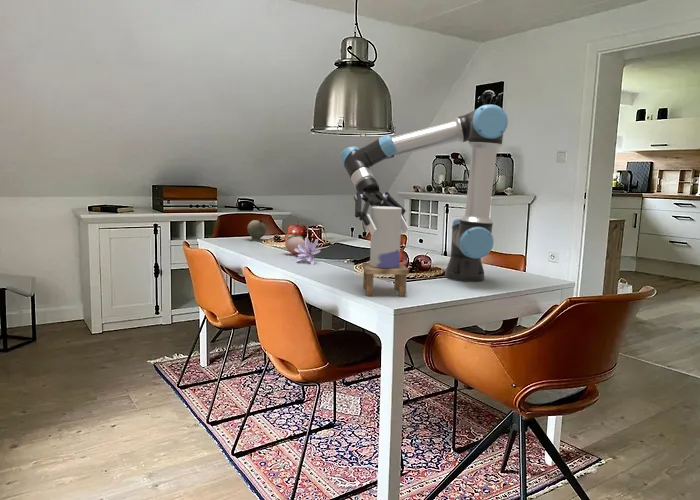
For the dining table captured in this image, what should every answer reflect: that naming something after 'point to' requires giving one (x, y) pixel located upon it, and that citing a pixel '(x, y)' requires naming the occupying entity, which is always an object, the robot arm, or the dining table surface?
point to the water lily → (307, 251)
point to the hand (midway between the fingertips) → (390, 231)
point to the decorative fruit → (293, 243)
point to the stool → (399, 273)
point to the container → (386, 237)
